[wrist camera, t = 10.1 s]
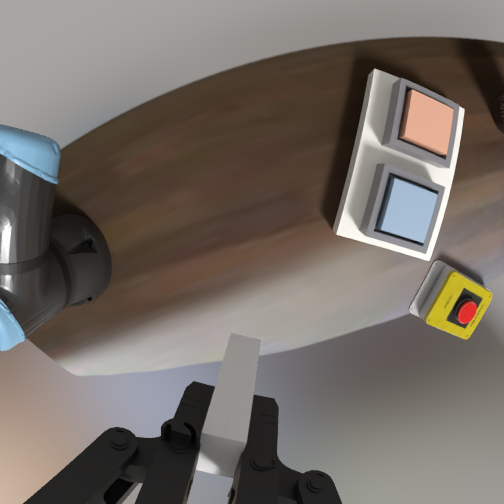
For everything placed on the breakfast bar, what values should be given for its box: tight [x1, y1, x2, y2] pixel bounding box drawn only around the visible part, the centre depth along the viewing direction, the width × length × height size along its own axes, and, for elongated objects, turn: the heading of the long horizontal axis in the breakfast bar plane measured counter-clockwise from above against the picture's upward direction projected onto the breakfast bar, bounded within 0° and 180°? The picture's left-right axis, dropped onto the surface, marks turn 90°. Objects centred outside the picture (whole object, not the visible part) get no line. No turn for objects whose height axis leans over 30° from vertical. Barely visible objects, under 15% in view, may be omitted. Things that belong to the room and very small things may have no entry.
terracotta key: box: [397, 90, 454, 155], centre depth 28 cm, size 6×6×2 cm
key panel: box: [333, 69, 464, 261], centre depth 32 cm, size 14×22×6 cm, turn 167°
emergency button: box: [409, 260, 492, 339], centre depth 38 cm, size 9×4×15 cm
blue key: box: [375, 178, 438, 243], centre depth 31 cm, size 6×6×2 cm
